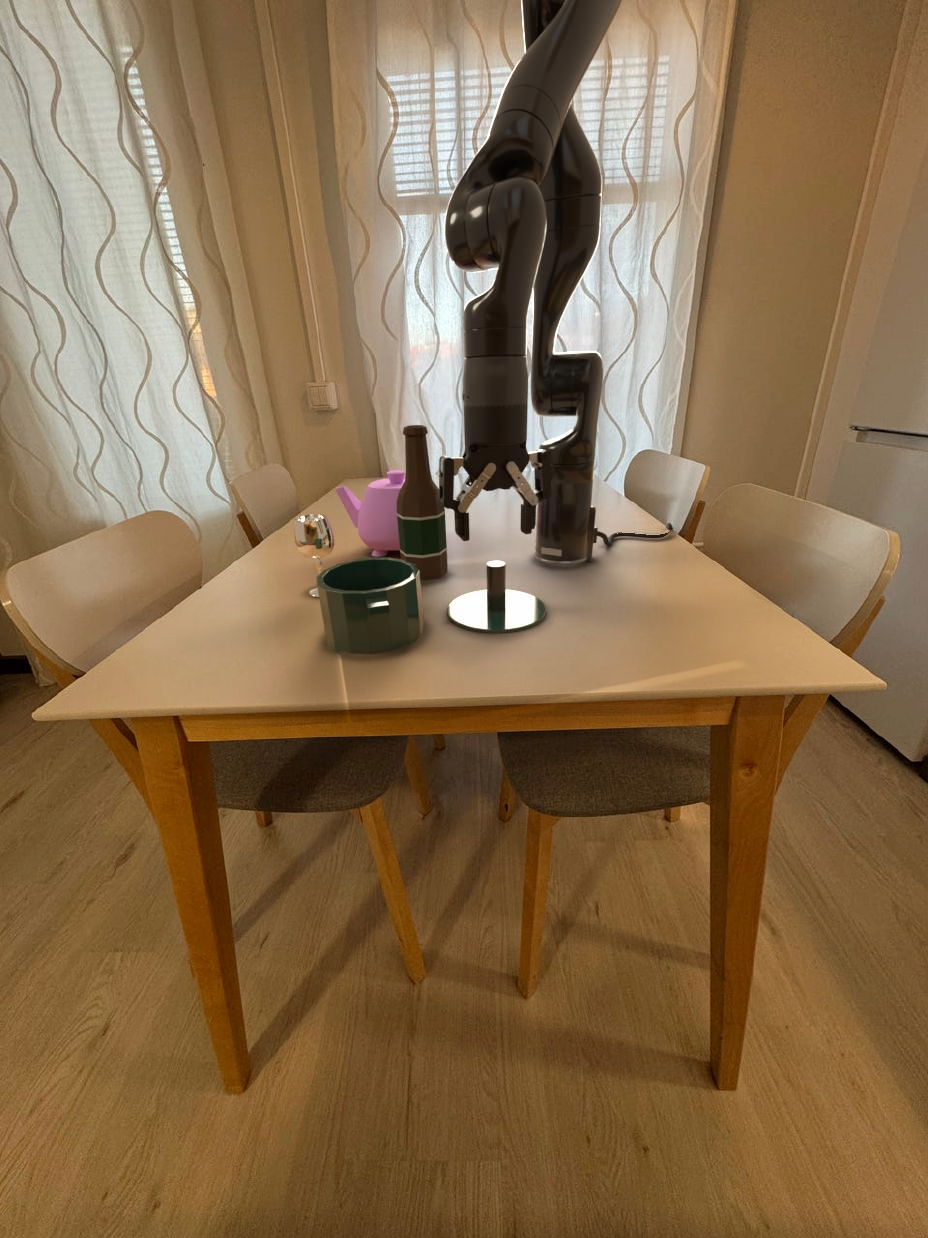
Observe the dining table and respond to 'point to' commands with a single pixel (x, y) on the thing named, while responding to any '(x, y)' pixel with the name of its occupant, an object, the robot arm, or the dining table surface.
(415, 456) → the beer bottle
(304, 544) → the wineglass
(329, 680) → the dining table surface
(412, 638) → the pot
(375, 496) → the teapot
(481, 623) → the lid
